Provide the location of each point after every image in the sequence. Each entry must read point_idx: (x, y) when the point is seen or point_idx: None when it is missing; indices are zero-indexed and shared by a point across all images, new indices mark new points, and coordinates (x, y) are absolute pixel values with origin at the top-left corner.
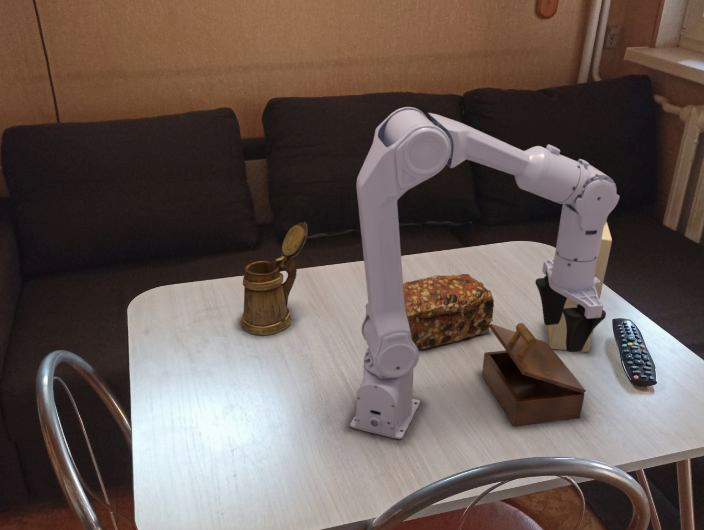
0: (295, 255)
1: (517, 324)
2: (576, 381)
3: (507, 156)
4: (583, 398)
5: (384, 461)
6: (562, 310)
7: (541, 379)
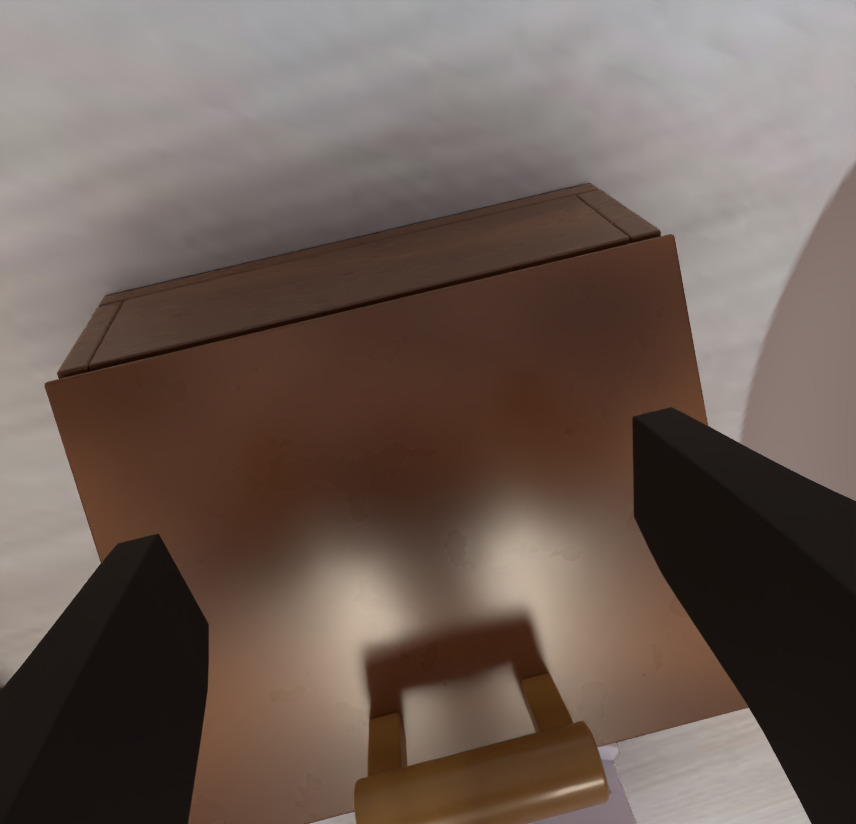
0: None
1: None
2: (585, 284)
3: None
4: (647, 223)
5: (685, 753)
6: (100, 651)
7: None
